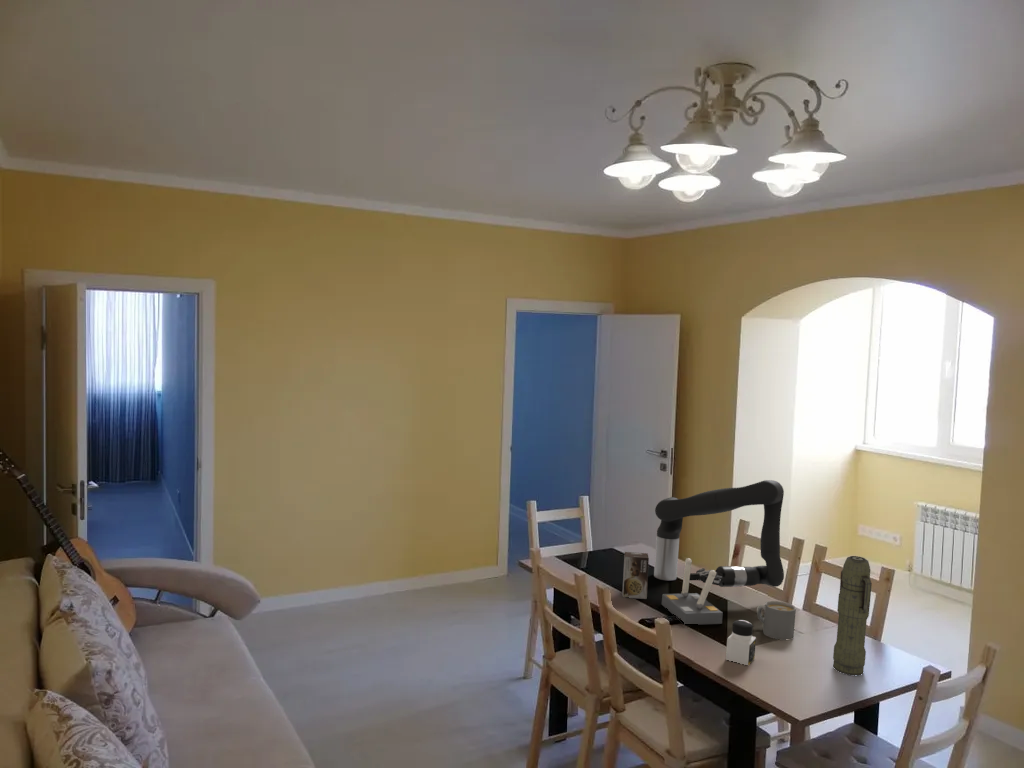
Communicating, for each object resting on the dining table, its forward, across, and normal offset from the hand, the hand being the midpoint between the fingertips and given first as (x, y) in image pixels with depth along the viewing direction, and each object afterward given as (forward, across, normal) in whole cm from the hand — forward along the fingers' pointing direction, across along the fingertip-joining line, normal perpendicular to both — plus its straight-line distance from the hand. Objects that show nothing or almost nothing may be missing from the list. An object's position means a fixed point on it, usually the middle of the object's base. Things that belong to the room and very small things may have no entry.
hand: (688, 576), depth 285 cm
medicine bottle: (+4, +45, +12) cm, 47 cm away
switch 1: (+1, 0, +6) cm, 7 cm away
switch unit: (+1, +6, +12) cm, 13 cm away
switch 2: (+1, +12, +6) cm, 14 cm away
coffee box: (+15, -14, +12) cm, 24 cm away
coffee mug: (-21, +25, +12) cm, 35 cm away
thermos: (-27, +55, +12) cm, 63 cm away
